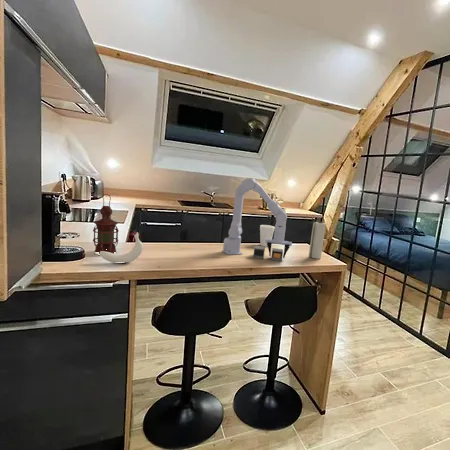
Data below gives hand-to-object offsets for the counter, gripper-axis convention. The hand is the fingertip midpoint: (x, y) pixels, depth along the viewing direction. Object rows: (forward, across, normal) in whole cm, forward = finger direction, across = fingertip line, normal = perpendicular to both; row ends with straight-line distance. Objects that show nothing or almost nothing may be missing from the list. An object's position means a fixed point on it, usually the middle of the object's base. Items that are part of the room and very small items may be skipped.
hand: (276, 256), depth 170 cm
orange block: (+2, 0, 0) cm, 2 cm away
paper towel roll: (+2, +23, +15) cm, 28 cm away
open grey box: (+2, 0, 0) cm, 2 cm away
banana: (+2, -72, -41) cm, 83 cm away
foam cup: (+2, -7, +30) cm, 31 cm away
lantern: (+2, -86, -29) cm, 91 cm away
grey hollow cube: (+2, -10, 0) cm, 10 cm away
